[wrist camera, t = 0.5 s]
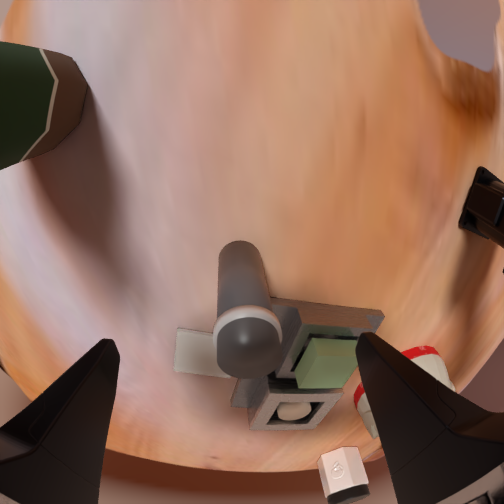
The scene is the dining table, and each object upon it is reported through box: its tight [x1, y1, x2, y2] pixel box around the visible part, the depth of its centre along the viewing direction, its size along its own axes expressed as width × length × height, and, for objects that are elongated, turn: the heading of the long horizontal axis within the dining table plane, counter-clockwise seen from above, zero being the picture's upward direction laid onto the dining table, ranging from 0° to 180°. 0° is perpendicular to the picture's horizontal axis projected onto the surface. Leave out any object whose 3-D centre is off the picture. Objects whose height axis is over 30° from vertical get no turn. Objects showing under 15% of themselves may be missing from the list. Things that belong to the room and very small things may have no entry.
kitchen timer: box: [354, 346, 456, 439], centre depth 27 cm, size 14×14×15 cm
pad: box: [174, 328, 231, 378], centre depth 26 cm, size 6×6×1 cm
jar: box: [317, 447, 370, 504], centre depth 39 cm, size 9×8×12 cm
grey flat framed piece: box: [231, 297, 385, 430], centre depth 26 cm, size 12×16×4 cm
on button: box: [294, 338, 358, 388], centre depth 23 cm, size 4×4×2 cm
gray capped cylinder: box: [213, 241, 283, 379], centre depth 17 cm, size 4×4×10 cm
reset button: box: [277, 402, 311, 420], centre depth 27 cm, size 4×4×1 cm
